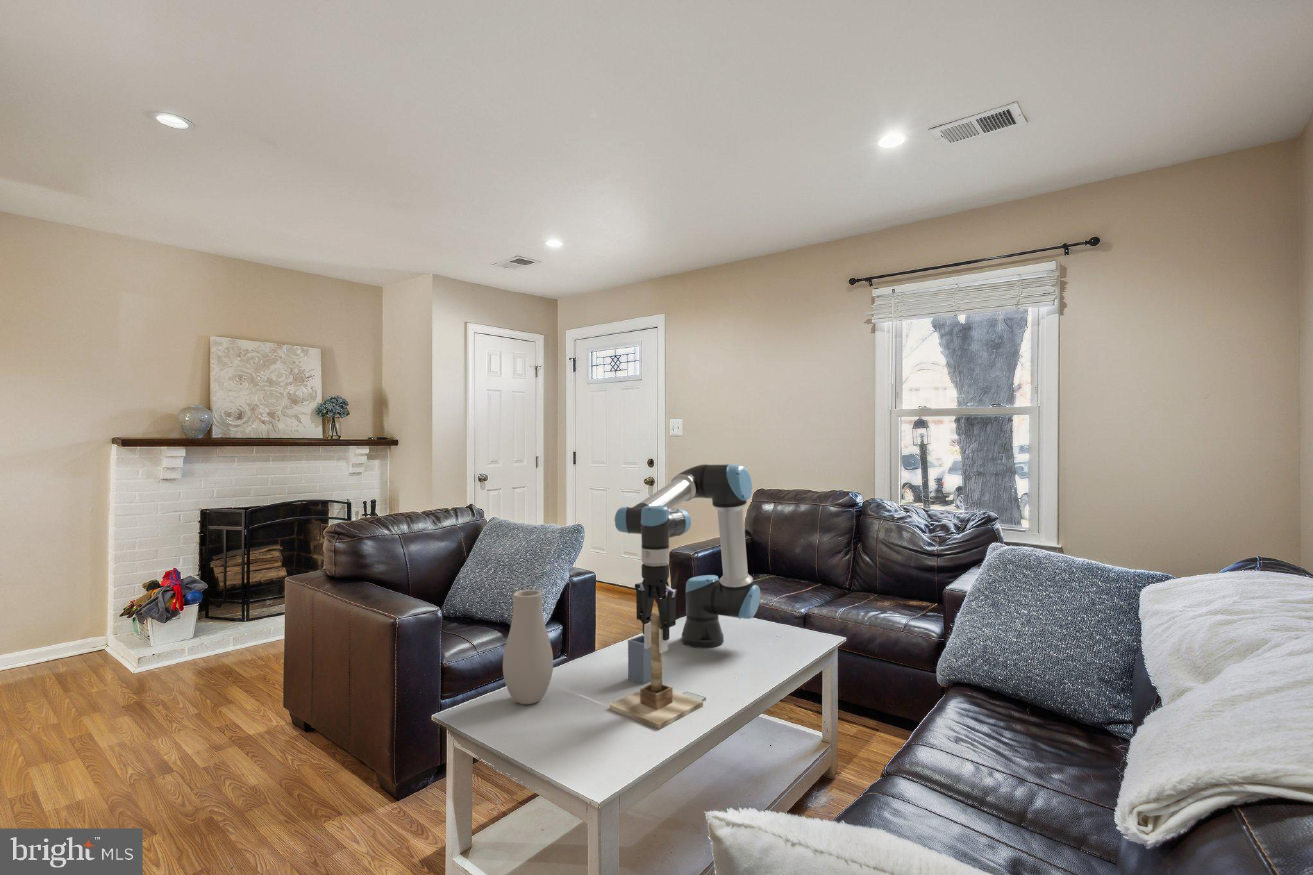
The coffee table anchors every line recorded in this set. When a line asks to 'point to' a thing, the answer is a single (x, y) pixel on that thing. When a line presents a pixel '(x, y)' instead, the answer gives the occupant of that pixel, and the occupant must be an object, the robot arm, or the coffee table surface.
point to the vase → (527, 650)
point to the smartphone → (694, 696)
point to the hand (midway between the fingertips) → (655, 649)
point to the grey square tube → (639, 661)
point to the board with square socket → (656, 706)
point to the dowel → (655, 655)
